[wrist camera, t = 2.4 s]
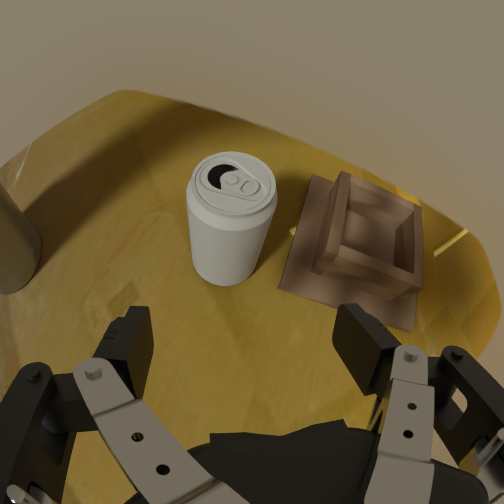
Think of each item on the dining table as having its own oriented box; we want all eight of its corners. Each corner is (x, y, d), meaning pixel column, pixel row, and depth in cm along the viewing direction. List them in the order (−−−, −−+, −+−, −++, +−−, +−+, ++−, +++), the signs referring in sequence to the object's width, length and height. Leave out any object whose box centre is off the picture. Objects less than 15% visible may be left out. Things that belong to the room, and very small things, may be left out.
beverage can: (215, 222, 31) (220, 135, 20) (267, 251, 30) (297, 172, 19) (180, 267, 28) (164, 188, 17) (235, 301, 27) (251, 236, 17)
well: (278, 288, 28) (291, 265, 24) (310, 178, 36) (323, 149, 31) (409, 332, 28) (439, 319, 23) (414, 222, 35) (435, 200, 31)
